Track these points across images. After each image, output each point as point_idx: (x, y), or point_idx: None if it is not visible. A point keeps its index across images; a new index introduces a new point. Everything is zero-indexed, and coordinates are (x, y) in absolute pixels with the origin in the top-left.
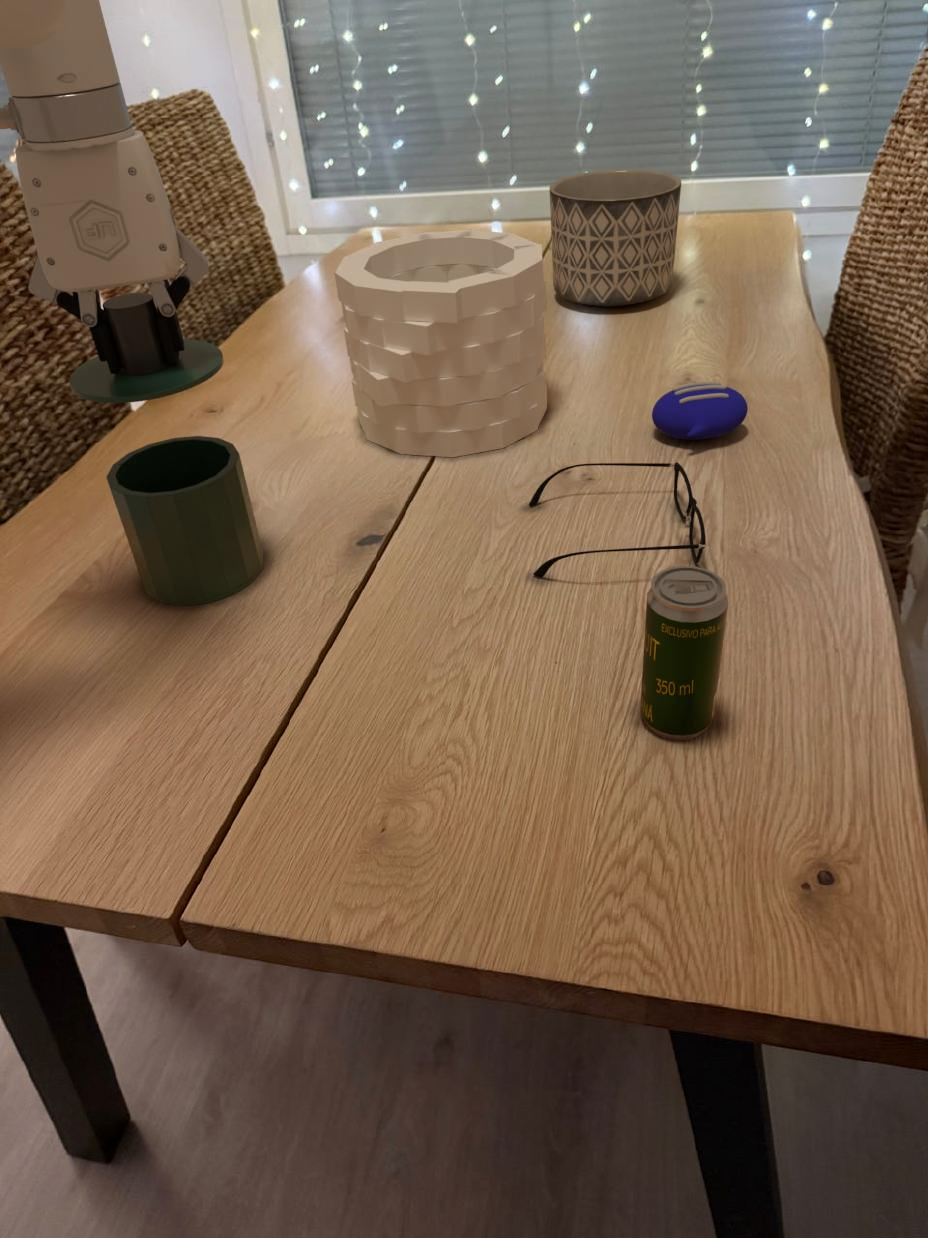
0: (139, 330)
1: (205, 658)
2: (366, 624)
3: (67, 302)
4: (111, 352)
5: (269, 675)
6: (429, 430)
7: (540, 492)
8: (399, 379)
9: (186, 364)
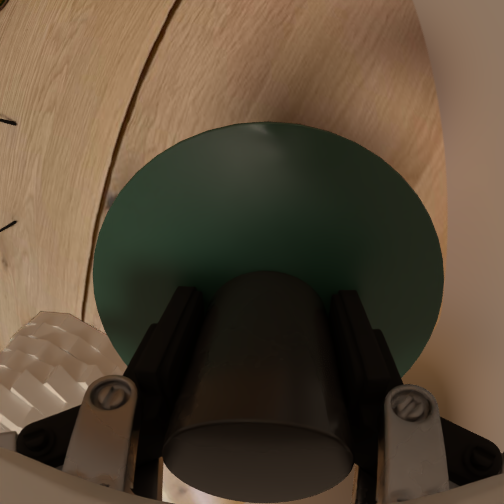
0: (233, 348)
1: (266, 45)
2: (124, 70)
3: (475, 453)
4: (347, 322)
5: (208, 14)
6: (72, 334)
7: (5, 226)
8: (65, 371)
9: (165, 296)
